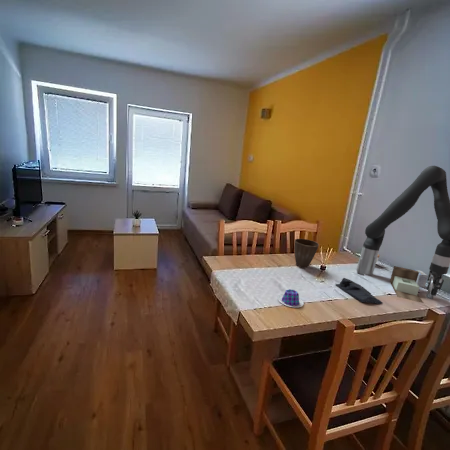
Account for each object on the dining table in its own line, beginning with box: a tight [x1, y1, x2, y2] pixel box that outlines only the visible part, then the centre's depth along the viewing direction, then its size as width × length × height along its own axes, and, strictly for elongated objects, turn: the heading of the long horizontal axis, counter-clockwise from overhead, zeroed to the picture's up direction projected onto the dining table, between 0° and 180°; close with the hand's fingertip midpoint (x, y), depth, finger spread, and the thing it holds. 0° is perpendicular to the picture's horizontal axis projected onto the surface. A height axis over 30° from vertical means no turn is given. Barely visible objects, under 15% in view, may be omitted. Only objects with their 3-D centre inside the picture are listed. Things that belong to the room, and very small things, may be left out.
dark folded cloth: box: [335, 277, 383, 305], centre depth 142 cm, size 15×22×5 cm
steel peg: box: [425, 279, 436, 300], centre depth 144 cm, size 3×3×12 cm
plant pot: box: [293, 238, 320, 269], centre depth 172 cm, size 15×15×16 cm
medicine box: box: [414, 269, 429, 288], centre depth 162 cm, size 8×4×9 cm, turn 168°
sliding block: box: [393, 276, 420, 295], centre depth 152 cm, size 10×10×5 cm
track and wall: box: [389, 265, 425, 304], centre depth 148 cm, size 12×22×11 cm, turn 158°
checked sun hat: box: [277, 288, 304, 308], centre depth 125 cm, size 12×12×5 cm
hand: (431, 292), depth 144 cm, fingers open, 6 cm apart
